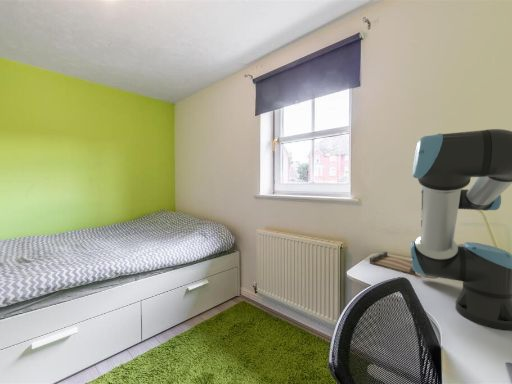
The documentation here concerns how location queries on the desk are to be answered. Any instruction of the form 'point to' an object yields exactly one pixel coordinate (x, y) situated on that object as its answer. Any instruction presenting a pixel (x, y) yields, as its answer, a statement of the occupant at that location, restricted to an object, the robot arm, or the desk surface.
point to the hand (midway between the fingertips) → (430, 270)
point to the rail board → (393, 263)
